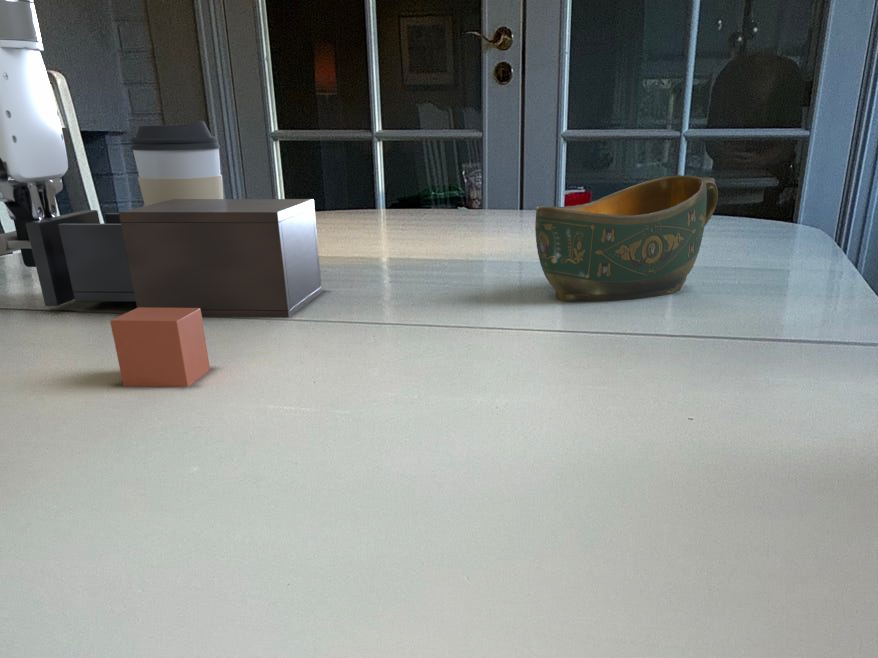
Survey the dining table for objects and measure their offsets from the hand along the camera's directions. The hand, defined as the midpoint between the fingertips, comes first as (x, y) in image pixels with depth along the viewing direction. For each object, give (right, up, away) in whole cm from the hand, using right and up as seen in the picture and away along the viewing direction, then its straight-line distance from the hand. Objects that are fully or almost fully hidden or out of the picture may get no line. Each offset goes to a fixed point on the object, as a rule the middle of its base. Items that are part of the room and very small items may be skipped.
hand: (45, 265), depth 84 cm
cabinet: (+18, -4, +1) cm, 18 cm away
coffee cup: (+9, +5, +16) cm, 19 cm away
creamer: (+55, -1, +5) cm, 55 cm away
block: (+19, -18, -23) cm, 35 cm away
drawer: (+6, -2, +1) cm, 6 cm away
